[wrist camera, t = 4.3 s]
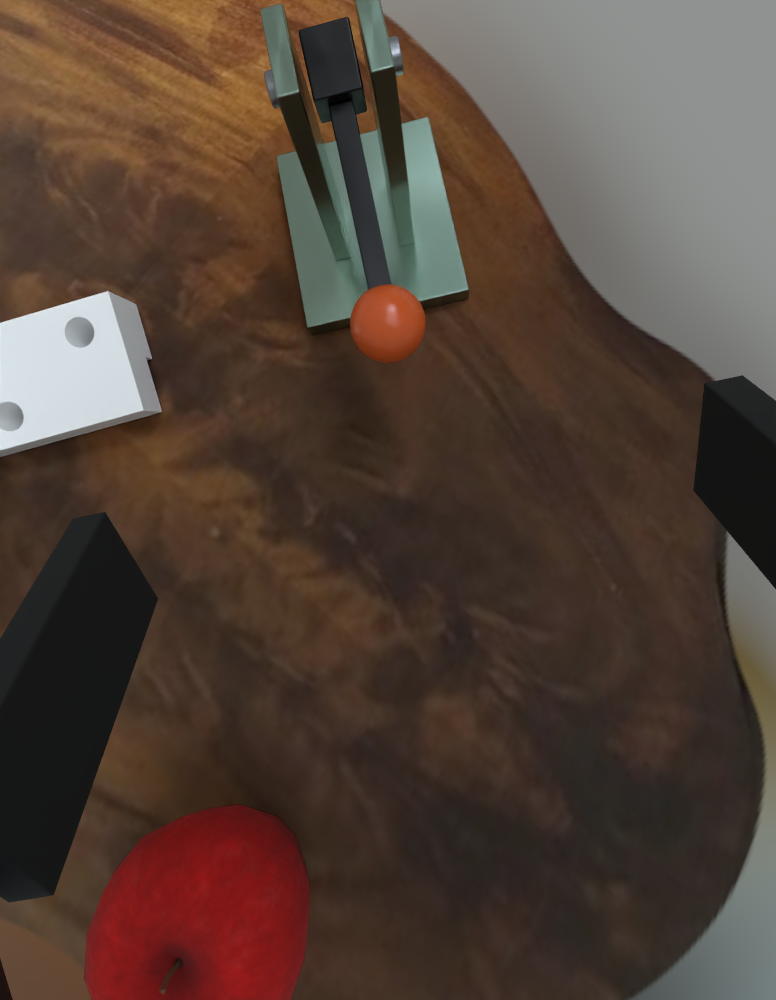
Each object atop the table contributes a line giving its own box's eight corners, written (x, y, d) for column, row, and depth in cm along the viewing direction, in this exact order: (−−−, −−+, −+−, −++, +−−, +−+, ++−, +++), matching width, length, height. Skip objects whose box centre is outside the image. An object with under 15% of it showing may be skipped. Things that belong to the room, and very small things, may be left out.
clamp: (468, 299, 37) (476, 131, 24) (311, 335, 38) (231, 193, 24) (429, 130, 39) (415, -115, 26) (281, 168, 40) (191, -49, 26)
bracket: (-16, 463, 40) (-116, 470, 33) (-50, 358, 40) (-160, 340, 32) (168, 412, 39) (109, 407, 32) (136, 304, 39) (68, 272, 31)
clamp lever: (431, 355, 31) (434, 351, 27) (362, 371, 31) (356, 369, 27) (369, 49, 28) (363, 1, 25) (295, 69, 28) (278, 25, 25)
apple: (251, 735, 35) (159, 799, 24) (374, 862, 33) (333, 992, 22) (134, 867, 34) (-12, 992, 24) (251, 1003, 33) (151, 1203, 22)
